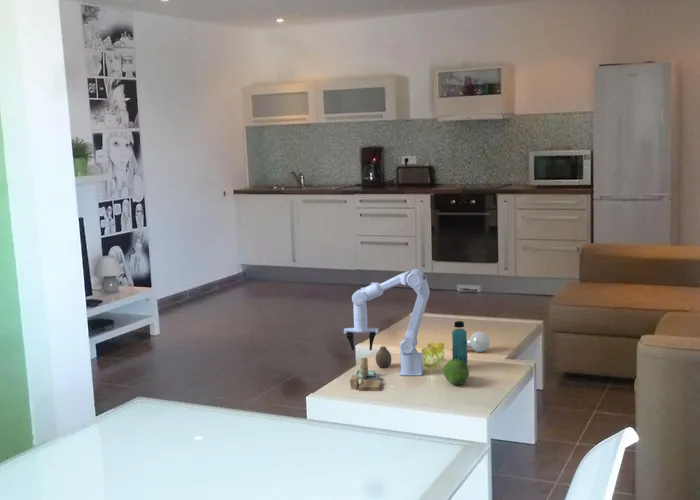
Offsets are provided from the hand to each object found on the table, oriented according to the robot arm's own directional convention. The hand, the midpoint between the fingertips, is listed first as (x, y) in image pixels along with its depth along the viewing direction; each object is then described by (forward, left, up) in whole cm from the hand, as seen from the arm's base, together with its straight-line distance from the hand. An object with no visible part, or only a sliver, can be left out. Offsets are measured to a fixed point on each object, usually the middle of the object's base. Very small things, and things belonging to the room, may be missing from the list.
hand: (361, 349), depth 344 cm
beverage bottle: (-41, -8, -10) cm, 43 cm away
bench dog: (0, +20, -10) cm, 23 cm away
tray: (-2, +6, -10) cm, 11 cm away
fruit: (-40, +14, -10) cm, 44 cm away
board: (-6, +21, -10) cm, 24 cm away
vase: (-8, -9, -10) cm, 16 cm away
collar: (-5, +12, -10) cm, 16 cm away
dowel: (-2, +6, -9) cm, 11 cm away
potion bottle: (-46, -34, -10) cm, 58 cm away
